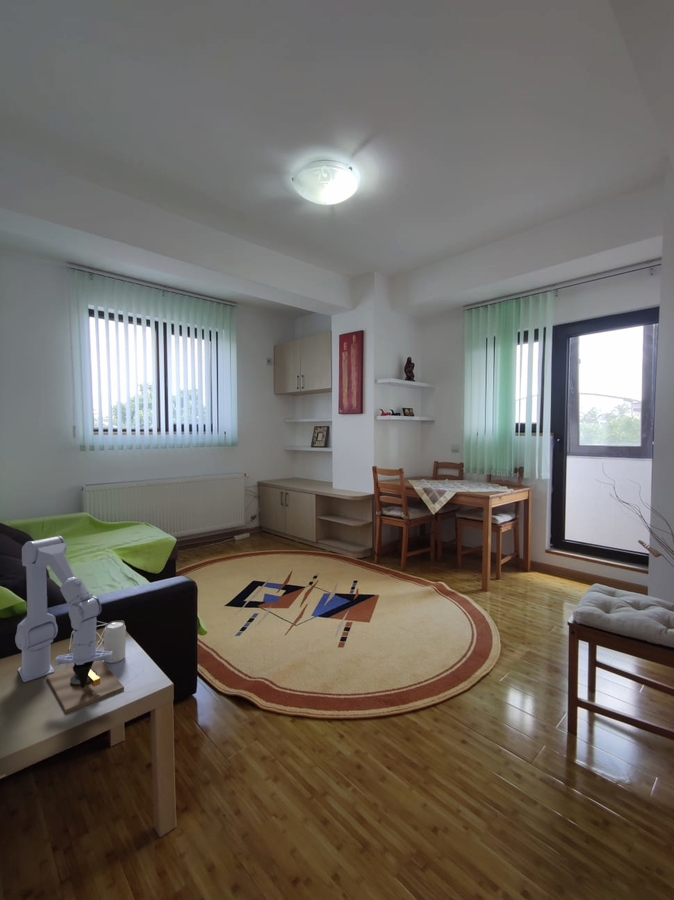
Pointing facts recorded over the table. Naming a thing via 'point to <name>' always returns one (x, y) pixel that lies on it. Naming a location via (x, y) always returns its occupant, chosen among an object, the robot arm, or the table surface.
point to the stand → (80, 697)
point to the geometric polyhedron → (96, 632)
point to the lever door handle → (91, 678)
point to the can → (115, 640)
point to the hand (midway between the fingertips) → (83, 685)
